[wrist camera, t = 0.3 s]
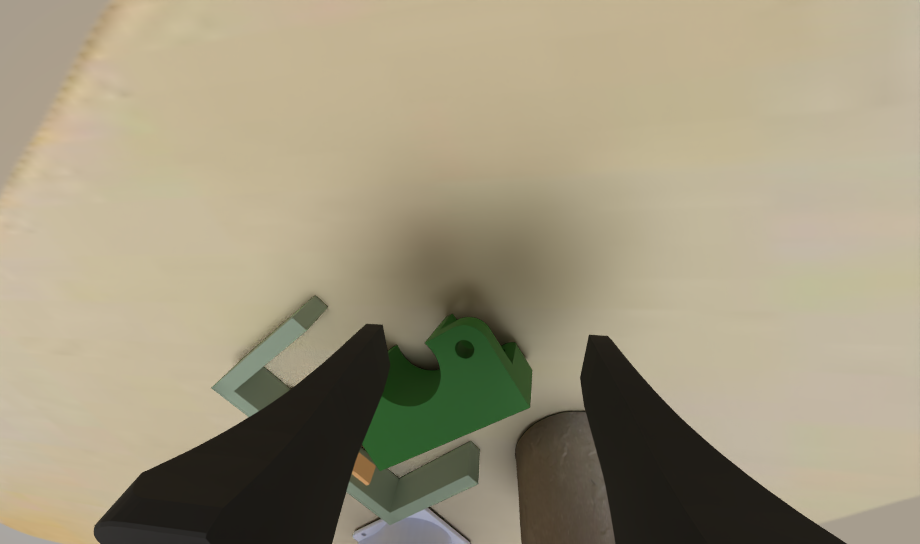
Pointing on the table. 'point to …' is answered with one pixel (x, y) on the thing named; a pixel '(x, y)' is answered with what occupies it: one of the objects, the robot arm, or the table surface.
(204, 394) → the table surface
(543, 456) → the pillar candle
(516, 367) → the clamp
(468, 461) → the bracket
